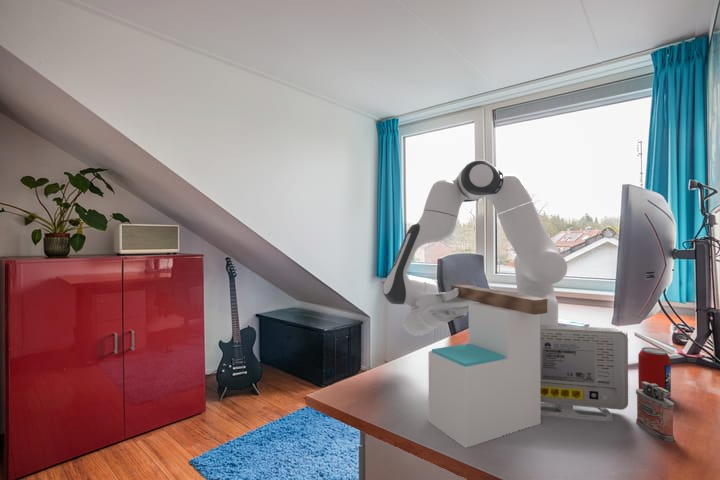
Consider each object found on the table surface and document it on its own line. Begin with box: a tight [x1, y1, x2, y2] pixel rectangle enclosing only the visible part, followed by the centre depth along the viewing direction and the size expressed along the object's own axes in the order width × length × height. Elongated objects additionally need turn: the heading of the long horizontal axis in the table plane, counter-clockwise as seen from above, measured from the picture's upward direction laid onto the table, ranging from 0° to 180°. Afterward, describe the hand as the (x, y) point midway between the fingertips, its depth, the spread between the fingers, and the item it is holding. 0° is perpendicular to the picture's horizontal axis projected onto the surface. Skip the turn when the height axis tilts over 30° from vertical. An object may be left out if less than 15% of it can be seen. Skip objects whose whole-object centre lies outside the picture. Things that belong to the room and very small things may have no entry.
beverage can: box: [637, 346, 672, 399], centre depth 98 cm, size 7×7×12 cm
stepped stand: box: [428, 303, 542, 449], centre depth 84 cm, size 12×22×26 cm, turn 116°
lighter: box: [635, 382, 675, 442], centre depth 80 cm, size 8×3×10 cm, turn 5°
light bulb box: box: [558, 318, 590, 327], centre depth 137 cm, size 11×7×11 cm, turn 40°
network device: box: [540, 325, 629, 422], centre depth 90 cm, size 26×9×20 cm, turn 77°
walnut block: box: [450, 283, 547, 315], centre depth 89 cm, size 26×4×3 cm, turn 26°
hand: (466, 290), depth 97 cm, fingers closed on walnut block, 4 cm apart
